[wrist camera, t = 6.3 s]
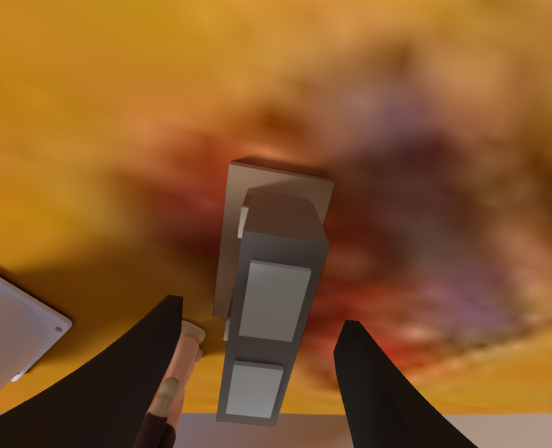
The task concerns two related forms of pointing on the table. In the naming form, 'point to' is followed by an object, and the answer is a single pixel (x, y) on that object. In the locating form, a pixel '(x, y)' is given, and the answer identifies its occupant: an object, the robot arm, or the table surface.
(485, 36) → the table surface
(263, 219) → the bar
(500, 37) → the table surface
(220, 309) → the stand
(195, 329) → the grandmother figurine
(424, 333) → the table surface
